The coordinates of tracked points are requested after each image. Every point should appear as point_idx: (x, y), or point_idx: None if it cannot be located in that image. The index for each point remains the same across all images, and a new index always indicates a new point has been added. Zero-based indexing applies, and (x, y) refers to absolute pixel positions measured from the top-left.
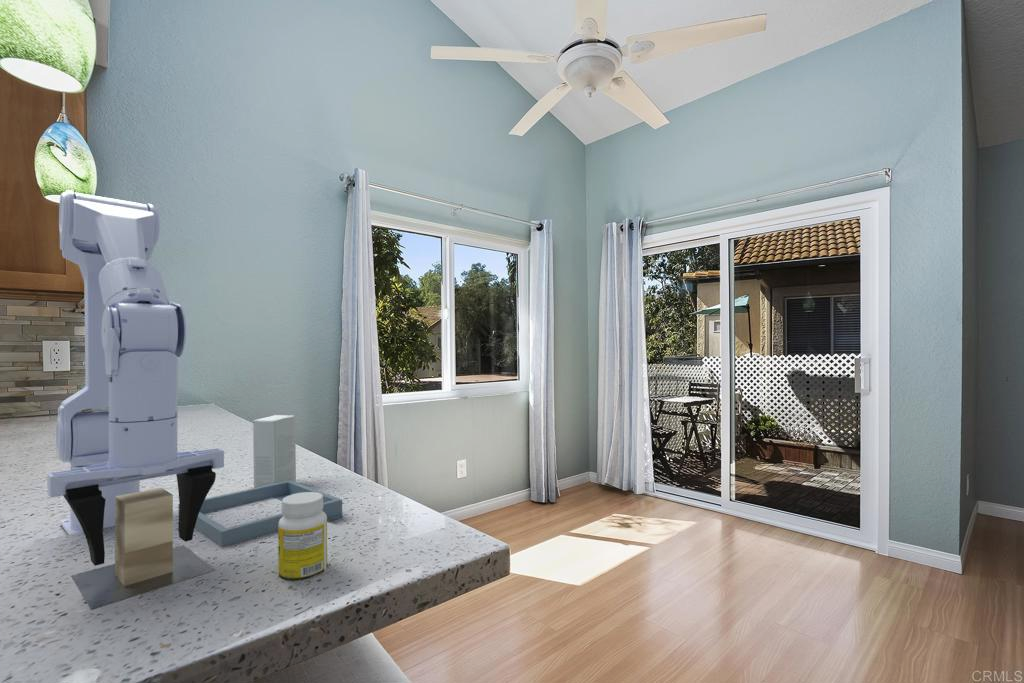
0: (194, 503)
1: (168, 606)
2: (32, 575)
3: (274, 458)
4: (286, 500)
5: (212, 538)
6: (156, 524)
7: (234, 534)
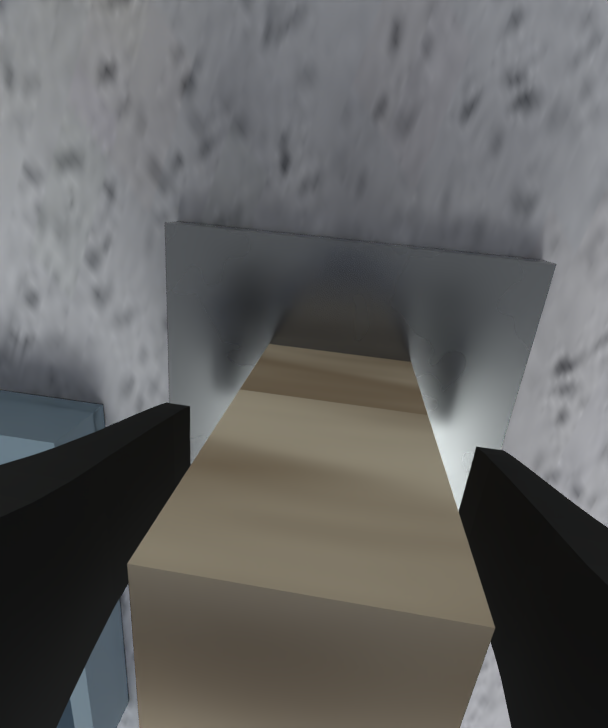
0: (45, 475)
1: (364, 121)
2: (487, 673)
3: None
4: None
5: None
6: (289, 451)
7: (25, 424)
